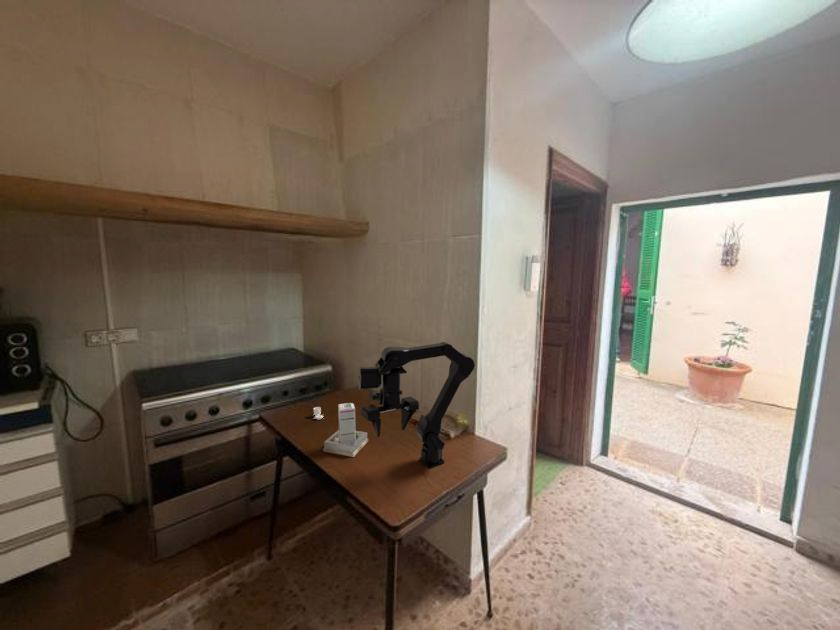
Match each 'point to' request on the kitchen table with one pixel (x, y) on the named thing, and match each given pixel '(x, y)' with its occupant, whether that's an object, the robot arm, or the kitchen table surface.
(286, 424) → the kitchen table surface
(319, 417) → the white ring and cylinder
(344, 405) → the syrup box
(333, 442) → the white square tray
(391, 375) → the robot arm
